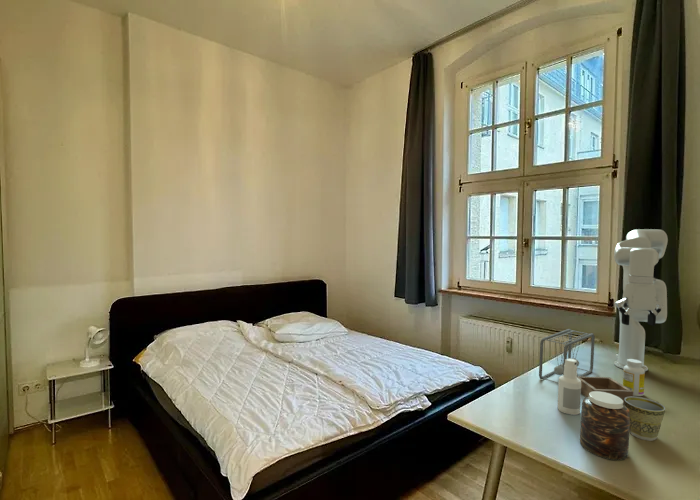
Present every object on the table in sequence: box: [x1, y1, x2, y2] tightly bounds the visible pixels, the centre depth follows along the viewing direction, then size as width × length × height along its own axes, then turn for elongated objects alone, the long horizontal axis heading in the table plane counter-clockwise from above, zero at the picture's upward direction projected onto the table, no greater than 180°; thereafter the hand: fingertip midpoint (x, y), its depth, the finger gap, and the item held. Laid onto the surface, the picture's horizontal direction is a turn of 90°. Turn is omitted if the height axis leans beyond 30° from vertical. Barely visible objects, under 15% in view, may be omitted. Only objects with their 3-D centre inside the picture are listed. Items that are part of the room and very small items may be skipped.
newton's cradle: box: [538, 328, 596, 385], centre depth 164 cm, size 30×10×18 cm, turn 129°
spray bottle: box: [557, 358, 582, 416], centre depth 132 cm, size 7×7×18 cm
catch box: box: [577, 375, 633, 406], centre depth 144 cm, size 13×13×5 cm
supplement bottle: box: [622, 359, 646, 397], centre depth 147 cm, size 7×7×13 cm
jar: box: [579, 391, 630, 461], centre depth 109 cm, size 12×12×15 cm
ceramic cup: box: [624, 396, 666, 442], centre depth 117 cm, size 13×10×10 cm
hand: (638, 324), depth 146 cm, fingers open, 9 cm apart
